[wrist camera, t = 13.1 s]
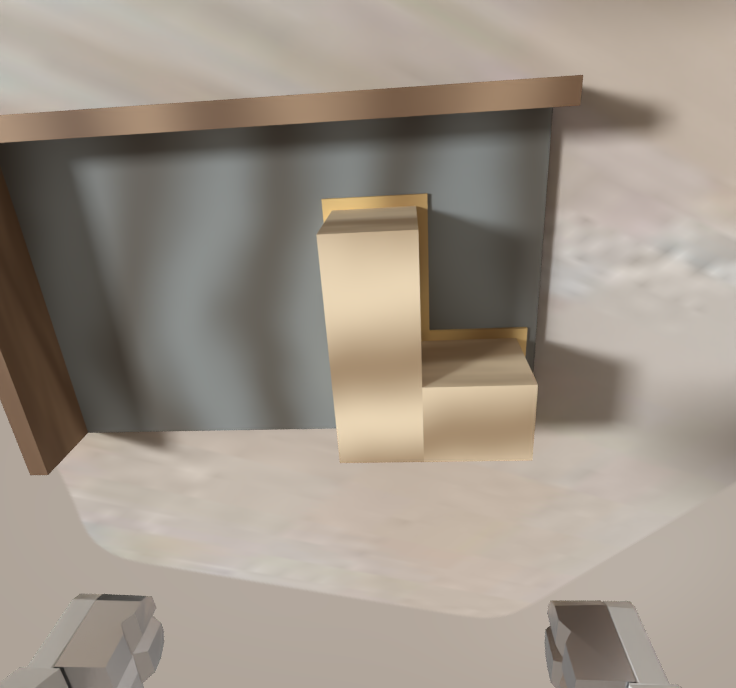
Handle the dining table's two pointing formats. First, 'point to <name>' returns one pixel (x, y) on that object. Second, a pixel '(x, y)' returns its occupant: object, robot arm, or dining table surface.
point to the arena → (248, 247)
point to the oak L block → (411, 356)
